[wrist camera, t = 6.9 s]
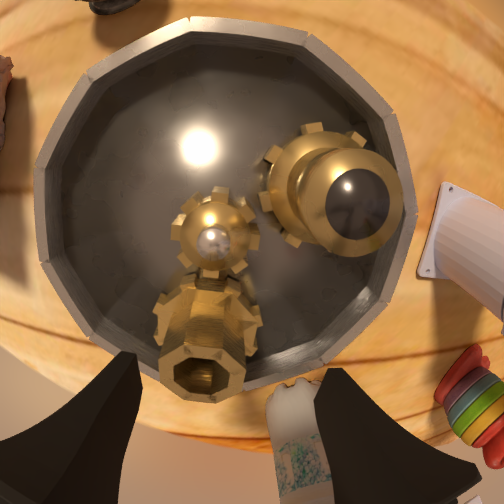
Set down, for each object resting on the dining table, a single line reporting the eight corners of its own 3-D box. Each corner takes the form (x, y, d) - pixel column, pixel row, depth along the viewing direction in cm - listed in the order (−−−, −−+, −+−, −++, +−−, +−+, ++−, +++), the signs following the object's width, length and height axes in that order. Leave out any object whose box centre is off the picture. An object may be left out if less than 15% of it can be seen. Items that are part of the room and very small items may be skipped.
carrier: (412, 89, 14) (476, 78, 8) (338, 366, 23) (361, 422, 16) (78, 45, 11) (25, 18, 5) (77, 337, 20) (45, 388, 14)
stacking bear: (488, 359, 27) (543, 429, 11) (445, 404, 30) (490, 479, 13) (474, 339, 24) (547, 427, 8) (421, 394, 27) (475, 492, 10)
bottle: (341, 387, 24) (403, 559, 5) (290, 418, 25) (322, 581, 7) (302, 359, 22) (365, 584, 3) (246, 396, 23) (264, 595, 5)
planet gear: (279, 327, 19) (293, 383, 14) (203, 370, 20) (198, 424, 15) (214, 252, 17) (207, 298, 12) (137, 310, 18) (112, 361, 13)
